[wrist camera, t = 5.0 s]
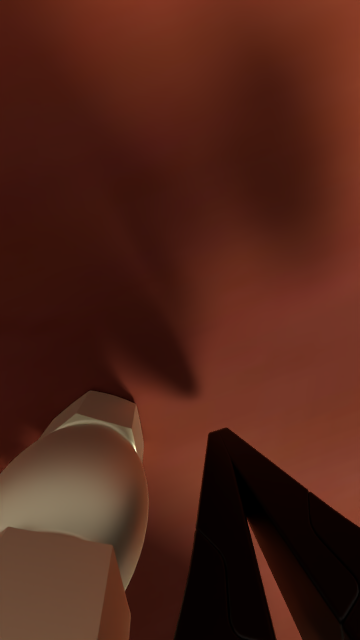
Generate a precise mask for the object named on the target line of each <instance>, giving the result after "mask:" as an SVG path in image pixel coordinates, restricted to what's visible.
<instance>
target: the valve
mask: <svg viewBox="0 0 360 640" xmlns="http://www.w3.org/2000/svg"><path fill="white" fill-rule="evenodd" d="M143 448H144V442H143V435H142V429H141V424H140V419H139V414H138V410H137V406H136V404H135V403H132V402H130V401H128V400H126V399H123V398H120V397H117V396H114V395H110V394H106V393H102V392H97V391H88V392H87V393H85V394H84V395H83V396H81V397H80V398H79V399H77V400H76V401H75V402H73V403H72V404H71V405H70V406H69V407H67V408H66V409H65V410H64V411H62V412H61V413H60V414H59V415H58V416H57V417H55V418H54V419H53V420H52V422H51V423H50V424H49V426H48V427H47V428H46V430H45V431H44V433H43V434H42V435H41V437H40V438H39V439H38V440H37V441H36V442H34V443H33V444H32V445H30V446H29V447H28V448H26V449H25V450H24V451H22V452H21V453H20V454H19V455H18V456H17V457H15V458H14V459H13V460H12V461H11V462H10V463H9V464H8V466H7V467H6V468H5V469H4V470H3V471H2V472H1V473H0V640H129V634H130V621H131V613H130V609H129V605H128V602H127V598H126V594H125V590H126V588H127V586H128V584H129V582H130V580H131V578H132V575H133V573H134V571H135V568H136V565H137V563H138V560H139V557H140V554H141V550H142V547H143V543H144V538H145V533H146V528H147V521H148V507H149V497H148V486H147V480H146V475H145V471H144V468H143V465H142V462H143Z"/></svg>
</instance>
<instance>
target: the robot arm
mask: <svg viewBox="0 0 360 640" xmlns="http://www.w3.org/2000/svg"><path fill="white" fill-rule="evenodd" d="M247 520H248V522H249V524H250V526H251V529H252V531H253V533H254V535H255V537H256V539H257V542H258V544H259V546H260V548H261V550H262V552H263V555H264V557H265V559H266V561H267V563H268V565H269V568H270V570H271V572H272V574H273V576H274V578H275V581H276V583H277V585H278V587H279V589H280V591H281V594H282V596H283V598H284V600H285V602H286V605H287V607H288V609H289V611H290V613H291V615H292V618H293V620H294V622H295V624H296V626H297V628H298V631H299V633H300V635H301V637H302V639H303V640H360V527H358V526H357V525H355V524H354V523H352V522H351V521H349V520H348V519H347V518H345V517H344V516H342V515H341V514H340V513H338V512H337V511H335V510H334V509H333V508H331V507H330V506H329V505H327V504H326V503H325V502H323V501H322V500H321V499H319V498H318V497H317V496H316V495H314V494H313V493H312V492H309V491H308V489H306V488H305V487H304V486H302V485H301V484H300V483H299V482H297V481H296V480H295V479H293V478H292V477H291V476H289V475H288V474H287V473H286V472H284V471H283V470H282V469H280V468H279V467H278V466H276V465H275V464H274V463H273V462H271V461H270V460H269V459H267V458H266V457H265V456H263V455H262V454H261V453H260V452H258V451H257V450H256V449H254V448H253V447H252V446H250V445H249V444H248V443H247V442H245V441H244V440H243V439H241V438H240V437H239V436H237V435H236V434H235V433H234V432H232V431H231V430H230V429H228V428H223V429H220V430H217V431H213V432H210V433H209V434H208V441H207V448H206V455H205V463H204V470H203V478H202V485H201V492H200V500H199V507H198V514H197V522H196V531H195V535H194V543H193V550H192V556H191V562H190V568H189V574H188V578H187V583H186V588H185V592H184V597H183V602H182V606H181V610H180V615H179V619H178V623H177V627H176V631H175V636H174V640H277V639H276V635H275V631H274V627H273V623H272V619H271V615H270V611H269V607H268V603H267V599H266V595H265V591H264V587H263V583H262V579H261V575H260V571H259V567H258V563H257V559H256V555H255V551H254V546H253V542H252V538H251V534H250V530H249V526H248V522H247Z"/></svg>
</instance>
